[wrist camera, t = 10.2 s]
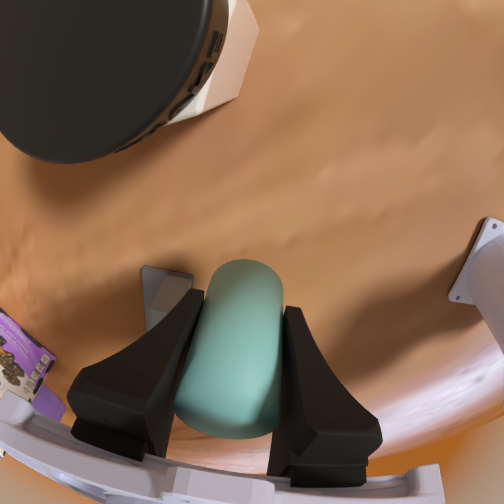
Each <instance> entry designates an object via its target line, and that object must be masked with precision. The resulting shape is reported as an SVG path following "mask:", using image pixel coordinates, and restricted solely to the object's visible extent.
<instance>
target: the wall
mask: <svg viewBox="0 0 504 504" xmlns="http://www.w3.org/2000/svg"><path fill="white" fill-rule="evenodd" d="M142 283H143V298H144V311H145V322H146V333H147V332H148V331H149V330H151V329H152V328H153V327H154V326H155V325H156V324H157V323H159V322H160V321H161V320H162V319H163V318H164V317H165V316H166V315H167V314H168V313H169V312H170V311H171V310H172V309H173V308H174V307H175V305H176V304H177V303H178V302H179V301H180V300H181V299H182V297H183V296H184V295H185V294H186V292H187V291H188V290H189V289H191V288H192V286H193V275H189V274H184V273H179V272H174V271H169V270H164V269H159V268H154V267H149V266H144V267H143V269H142Z"/></svg>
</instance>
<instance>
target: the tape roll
mask: <svg viewBox="0 0 504 504" xmlns="http://www.w3.org/2000/svg"><path fill="white" fill-rule="evenodd" d="M31 405H32V406H33V408H34V410H35V411H37V412H39V413H41V414H43V415H45V416H48V417H50V418H52V419H54V420H56V421H58V422H60V420H61V418H62V416H63V414H64V412H65V406H64V404H63V403H62V401H61V400H60V399H59V398H58V397H57V396H56V395H55V394H54V393H53V392H52V391H51V390H50V389H49V388H47V387H46V386H45V385H43V384H42V385H41V387H40V389H39V391H38V393H37V395H36V397H35V398H34V400H33V402H32V404H31Z"/></svg>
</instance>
